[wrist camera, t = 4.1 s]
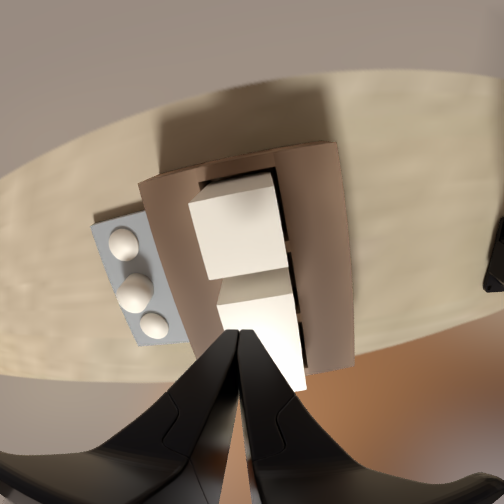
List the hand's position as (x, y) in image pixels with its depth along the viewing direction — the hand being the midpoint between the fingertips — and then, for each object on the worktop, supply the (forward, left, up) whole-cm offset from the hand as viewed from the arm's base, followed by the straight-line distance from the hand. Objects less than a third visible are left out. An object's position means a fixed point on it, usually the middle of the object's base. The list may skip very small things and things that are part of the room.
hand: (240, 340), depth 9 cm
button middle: (-1, +2, -8) cm, 9 cm away
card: (+8, +4, -11) cm, 14 cm away
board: (-1, +2, -11) cm, 11 cm away
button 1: (0, -2, -8) cm, 9 cm away
